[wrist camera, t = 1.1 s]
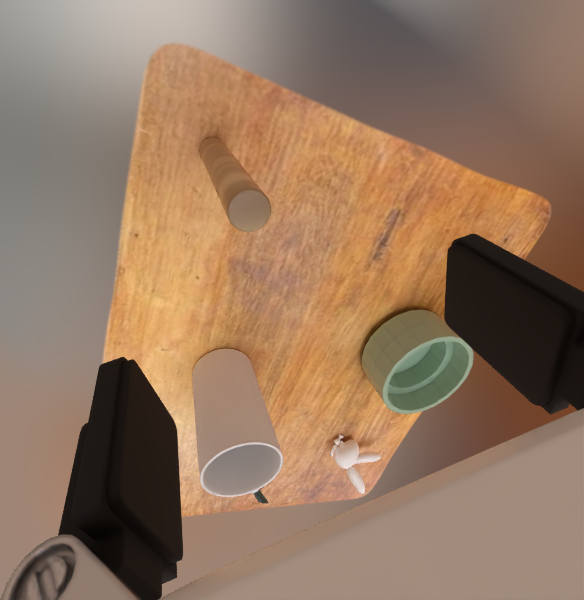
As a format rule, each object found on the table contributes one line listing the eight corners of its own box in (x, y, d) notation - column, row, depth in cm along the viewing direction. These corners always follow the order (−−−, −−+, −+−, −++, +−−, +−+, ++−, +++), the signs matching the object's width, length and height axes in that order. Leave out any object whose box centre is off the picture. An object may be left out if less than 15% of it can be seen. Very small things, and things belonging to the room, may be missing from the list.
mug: (180, 357, 37) (188, 462, 27) (245, 337, 38) (275, 431, 28) (208, 420, 43) (223, 524, 33) (264, 401, 44) (294, 497, 34)
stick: (195, 141, 27) (221, 196, 16) (221, 133, 27) (265, 183, 16) (204, 168, 28) (235, 238, 17) (229, 160, 28) (275, 225, 17)
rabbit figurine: (351, 423, 51) (389, 459, 52) (336, 420, 55) (373, 455, 56) (327, 460, 48) (368, 498, 50) (314, 455, 52) (353, 490, 53)
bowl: (354, 325, 41) (379, 360, 37) (442, 293, 43) (477, 322, 38) (362, 390, 48) (385, 426, 43) (439, 360, 49) (469, 392, 45)
